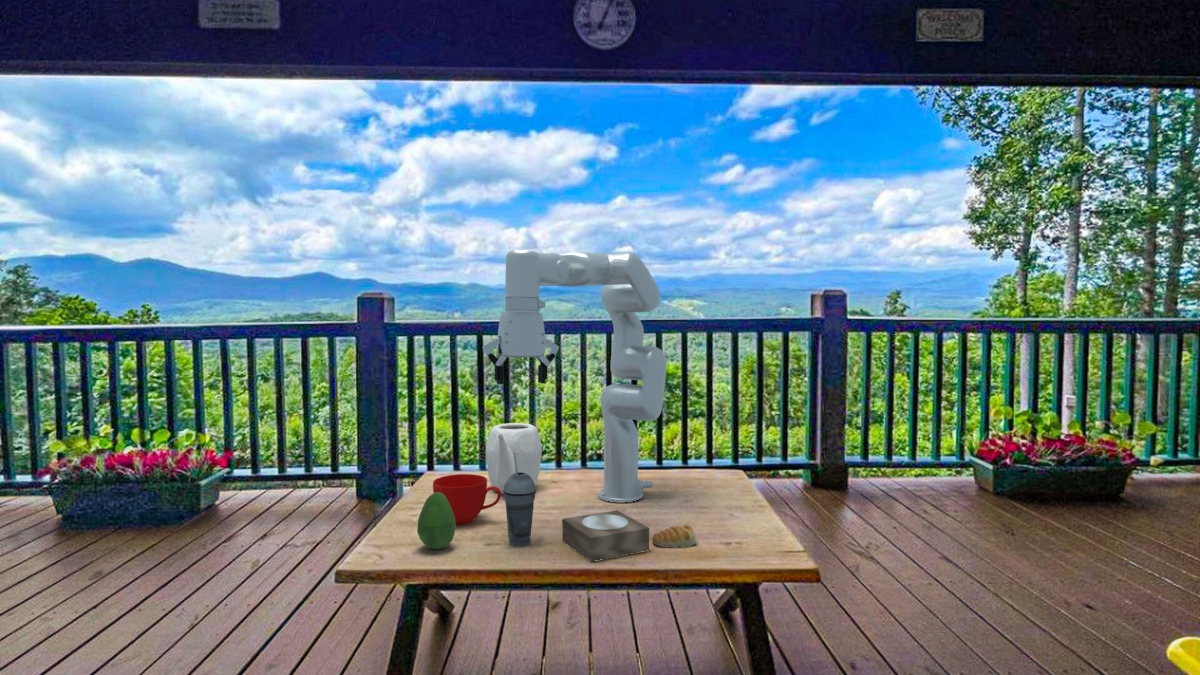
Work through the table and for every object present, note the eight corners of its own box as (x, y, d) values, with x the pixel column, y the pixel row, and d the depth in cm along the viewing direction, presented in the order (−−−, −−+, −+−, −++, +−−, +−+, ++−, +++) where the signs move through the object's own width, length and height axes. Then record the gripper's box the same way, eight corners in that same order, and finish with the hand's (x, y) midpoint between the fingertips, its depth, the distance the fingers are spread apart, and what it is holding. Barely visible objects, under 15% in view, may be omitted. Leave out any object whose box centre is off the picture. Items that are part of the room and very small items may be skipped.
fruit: (444, 539, 141) (443, 486, 140) (462, 548, 135) (462, 493, 135) (411, 547, 135) (410, 492, 135) (428, 558, 130) (428, 500, 129)
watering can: (471, 503, 169) (471, 433, 168) (500, 479, 195) (500, 418, 195) (527, 506, 167) (527, 435, 166) (549, 481, 193) (549, 419, 193)
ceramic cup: (491, 532, 146) (491, 489, 145) (423, 527, 149) (423, 485, 148) (509, 515, 158) (509, 476, 158) (446, 511, 161) (446, 472, 161)
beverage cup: (530, 550, 134) (530, 457, 134) (497, 547, 136) (498, 455, 135) (540, 538, 141) (540, 450, 141) (509, 536, 143) (509, 448, 142)
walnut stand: (617, 531, 146) (617, 508, 146) (649, 551, 134) (649, 526, 134) (562, 541, 140) (562, 516, 140) (590, 562, 128) (590, 536, 127)
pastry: (659, 551, 135) (659, 533, 134) (647, 541, 141) (647, 524, 141) (698, 546, 138) (698, 529, 138) (684, 537, 144) (684, 520, 144)
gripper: (552, 308, 146) (551, 381, 147) (479, 305, 139) (478, 383, 139) (564, 307, 140) (563, 384, 140) (488, 304, 132) (487, 385, 133)
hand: (521, 383), depth 140 cm, fingers open, 9 cm apart
